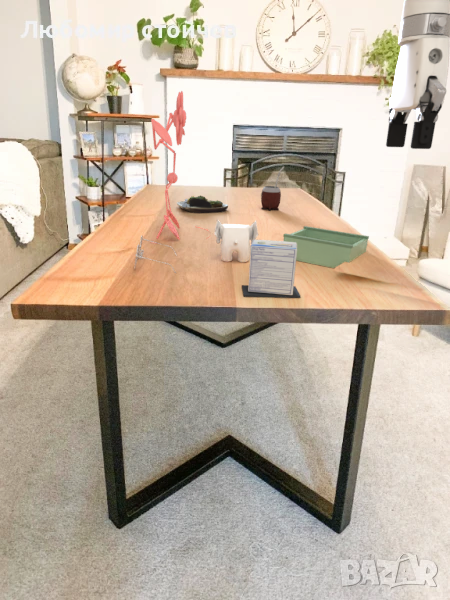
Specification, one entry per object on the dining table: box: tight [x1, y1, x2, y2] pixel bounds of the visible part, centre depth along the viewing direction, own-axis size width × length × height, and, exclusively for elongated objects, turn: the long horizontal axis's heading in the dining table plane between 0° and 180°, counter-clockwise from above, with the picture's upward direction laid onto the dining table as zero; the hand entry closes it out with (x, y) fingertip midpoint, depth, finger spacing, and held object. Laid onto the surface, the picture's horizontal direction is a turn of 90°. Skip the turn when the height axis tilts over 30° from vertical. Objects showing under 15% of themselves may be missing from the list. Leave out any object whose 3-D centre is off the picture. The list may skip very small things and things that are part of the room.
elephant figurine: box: [213, 218, 259, 263], centre depth 98 cm, size 10×12×9 cm
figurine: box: [149, 90, 214, 244], centre depth 112 cm, size 15×26×35 cm, turn 2°
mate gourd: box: [260, 166, 285, 212], centre depth 159 cm, size 8×8×15 cm
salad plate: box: [176, 195, 229, 214], centre depth 158 cm, size 19×18×5 cm
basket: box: [282, 225, 370, 269], centre depth 101 cm, size 16×12×6 cm
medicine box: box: [248, 239, 297, 295], centre depth 78 cm, size 8×4×9 cm, turn 81°
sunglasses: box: [133, 235, 178, 274], centre depth 93 cm, size 14×8×5 cm, turn 5°
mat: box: [241, 284, 301, 299], centre depth 80 cm, size 10×5×1 cm, turn 92°
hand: (406, 147), depth 76 cm, fingers open, 9 cm apart
